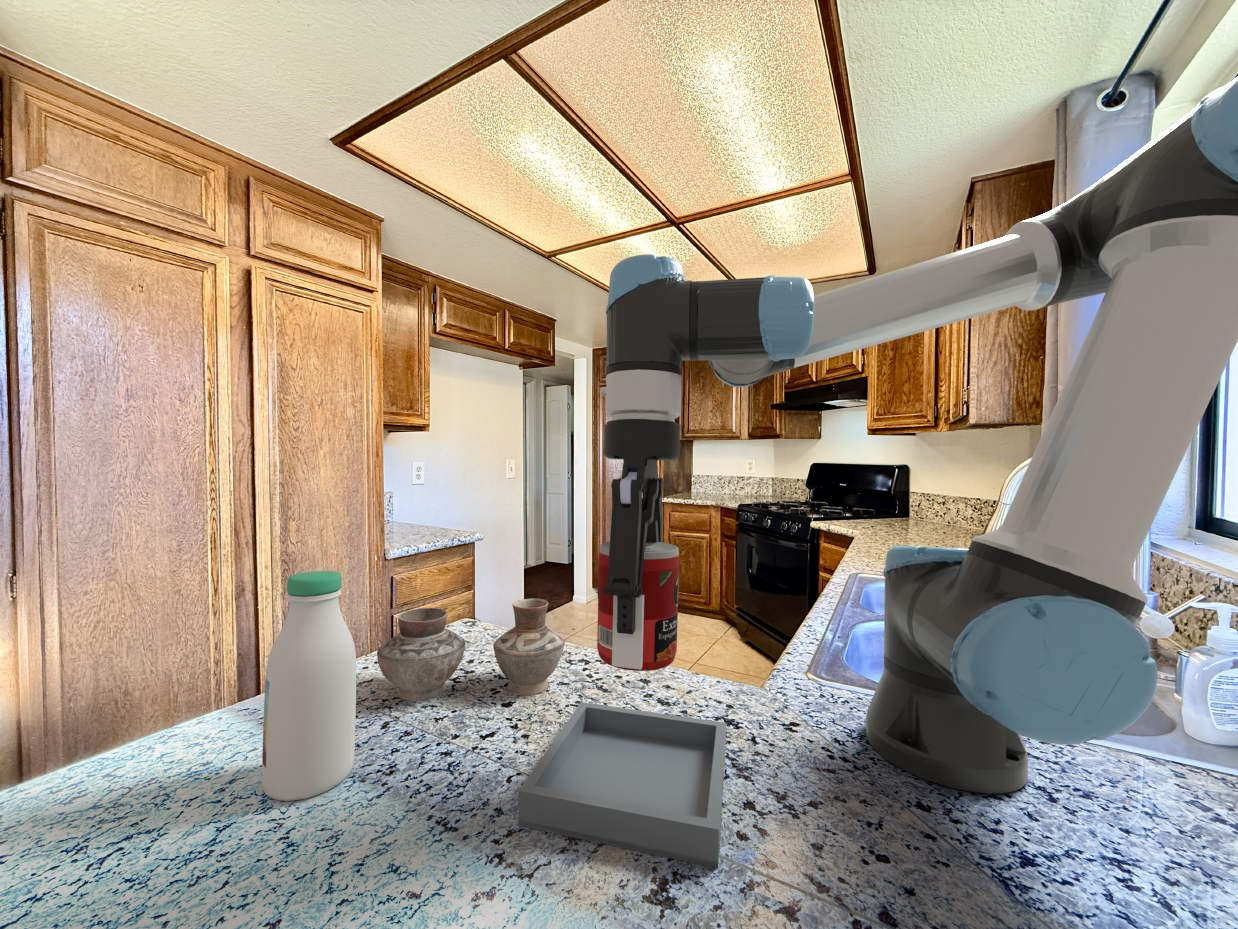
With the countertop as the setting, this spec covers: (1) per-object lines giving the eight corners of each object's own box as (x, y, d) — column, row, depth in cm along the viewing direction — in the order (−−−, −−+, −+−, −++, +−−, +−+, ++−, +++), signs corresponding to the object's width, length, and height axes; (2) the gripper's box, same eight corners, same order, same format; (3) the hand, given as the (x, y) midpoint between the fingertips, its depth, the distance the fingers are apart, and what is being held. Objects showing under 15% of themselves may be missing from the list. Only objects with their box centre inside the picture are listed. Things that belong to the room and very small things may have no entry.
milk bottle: (371, 762, 51) (376, 569, 52) (306, 811, 44) (312, 586, 44) (312, 749, 54) (317, 564, 54) (240, 794, 46) (246, 579, 46)
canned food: (673, 676, 45) (675, 554, 45) (587, 667, 46) (590, 549, 46) (679, 647, 52) (682, 542, 52) (605, 640, 54) (608, 538, 54)
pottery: (565, 704, 65) (567, 613, 66) (363, 715, 61) (365, 618, 61) (561, 669, 77) (563, 592, 77) (390, 677, 73) (392, 595, 73)
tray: (725, 749, 55) (726, 722, 55) (718, 868, 39) (718, 829, 39) (580, 727, 59) (581, 702, 59) (517, 825, 43) (518, 790, 43)
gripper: (628, 428, 60) (624, 617, 60) (572, 407, 40) (565, 689, 40) (690, 429, 58) (686, 623, 58) (663, 407, 38) (656, 702, 38)
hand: (636, 649), depth 49 cm, fingers closed on canned food, 8 cm apart
